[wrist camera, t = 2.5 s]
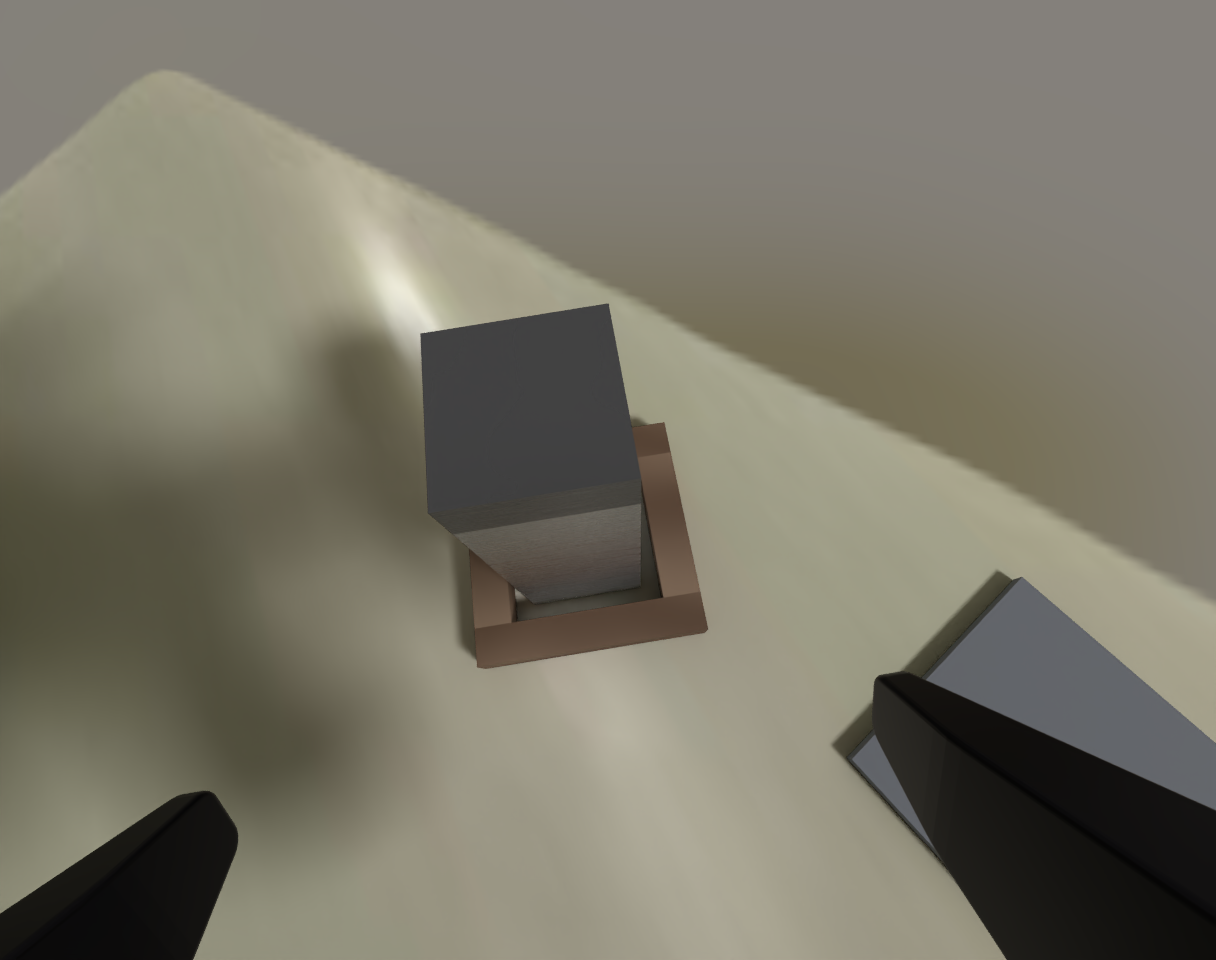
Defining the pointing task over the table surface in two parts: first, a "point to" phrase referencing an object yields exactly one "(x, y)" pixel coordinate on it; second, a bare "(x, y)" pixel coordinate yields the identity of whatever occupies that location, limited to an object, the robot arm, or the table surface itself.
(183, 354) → the table surface
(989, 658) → the mat
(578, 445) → the grey tall block
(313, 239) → the table surface
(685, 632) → the socket
